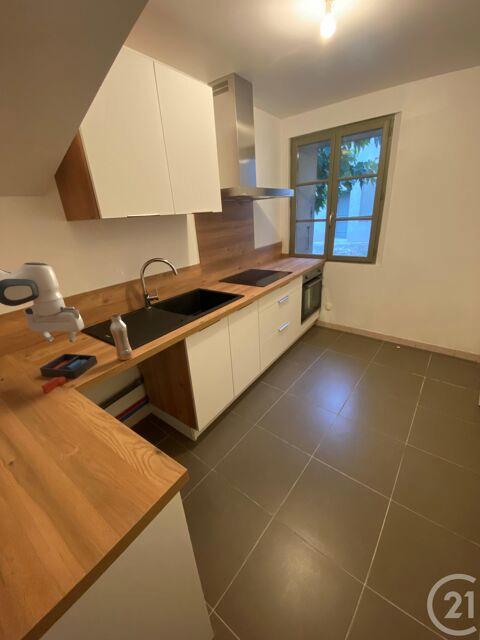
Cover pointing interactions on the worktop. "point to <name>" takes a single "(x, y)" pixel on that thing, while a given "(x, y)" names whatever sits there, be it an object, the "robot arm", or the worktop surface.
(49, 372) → the organiser
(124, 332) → the plastic bottle
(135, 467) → the worktop surface
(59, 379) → the red block
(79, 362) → the blue block
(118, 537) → the worktop surface
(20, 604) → the worktop surface
